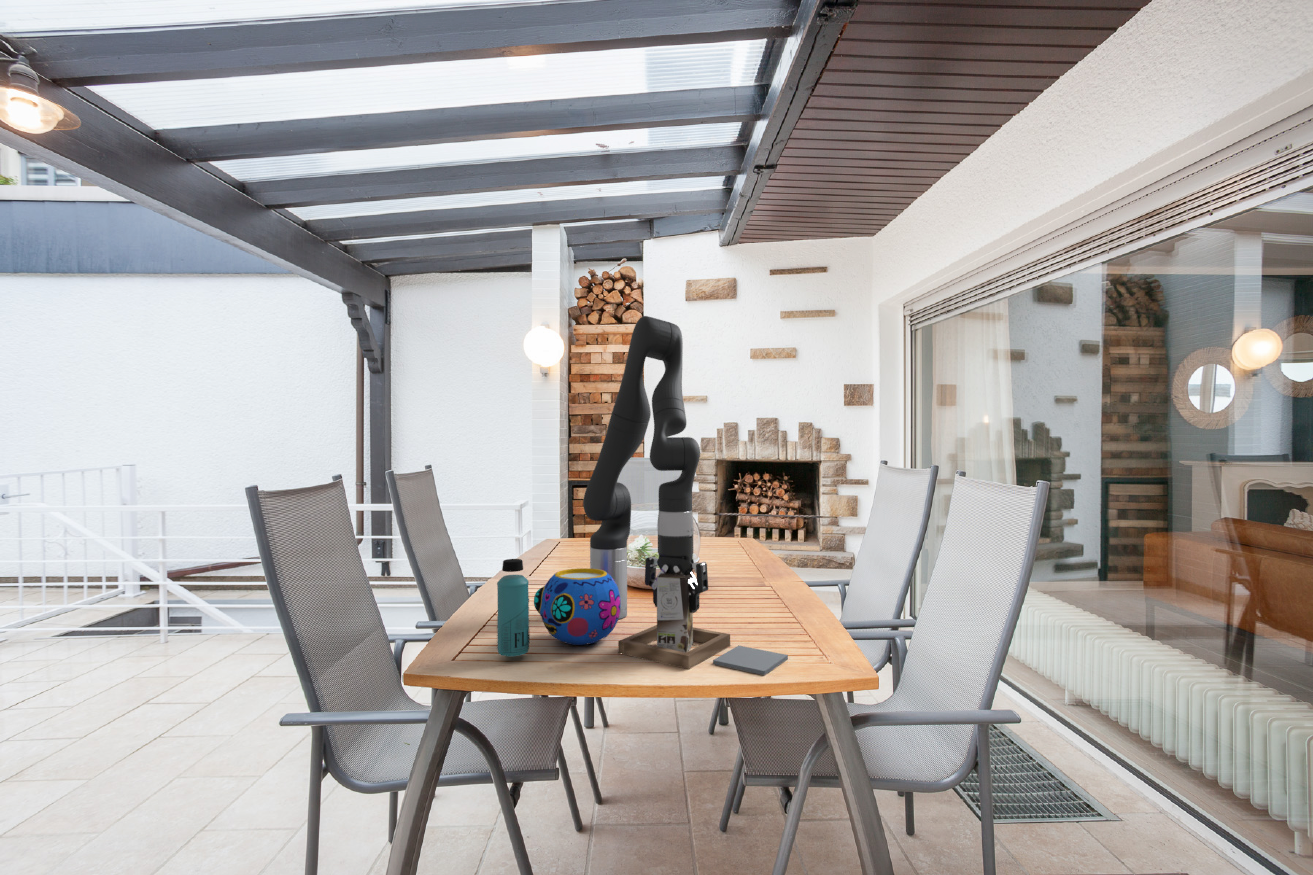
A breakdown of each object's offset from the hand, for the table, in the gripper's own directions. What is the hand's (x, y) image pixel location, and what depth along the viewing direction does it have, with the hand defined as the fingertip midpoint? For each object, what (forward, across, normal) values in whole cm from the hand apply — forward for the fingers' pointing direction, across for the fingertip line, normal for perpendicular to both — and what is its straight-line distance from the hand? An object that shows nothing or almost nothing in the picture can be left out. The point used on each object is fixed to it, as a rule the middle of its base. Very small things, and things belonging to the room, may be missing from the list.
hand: (676, 609), depth 137 cm
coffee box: (+9, 0, 0) cm, 9 cm away
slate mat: (+8, +16, +2) cm, 19 cm away
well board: (+8, 0, 0) cm, 8 cm away
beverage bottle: (+8, -24, -23) cm, 34 cm away
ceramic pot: (+8, -20, -7) cm, 23 cm away
